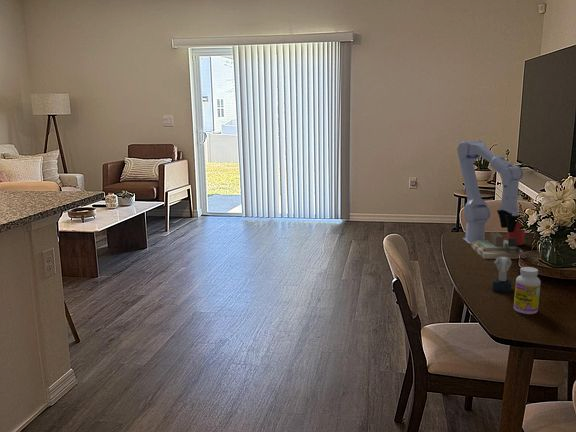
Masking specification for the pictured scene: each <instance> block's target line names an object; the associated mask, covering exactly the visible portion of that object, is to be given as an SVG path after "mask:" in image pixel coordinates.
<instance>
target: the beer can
mask: <svg viewBox="0 0 576 432" xmlns="http://www.w3.org/2000/svg"><path fill="white" fill-rule="evenodd" d="M521 226H522V224H521V223H519V222H517V224H516V227H515V230H514V232H508V231H507V237H506V238H507V239H506V240H508V241H509V238H516V246H522V245H524V243H525V233H526V229H525V230H518V229H519V228H520V227H521Z"/></svg>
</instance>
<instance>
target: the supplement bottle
mask: <svg viewBox="0 0 576 432" xmlns="http://www.w3.org/2000/svg"><path fill="white" fill-rule="evenodd" d="M519 273H520V275H518V276H517V277H516V278H515V286H514V287H515V288H514V297H513V309H514V311H516V312H517V313H520V314H524V315H534V314H537V313H538V310H539V305H540V304H539V303H540V302H539V301H540V292H541V283H542V282H541V280H540V278H539V277H538V275H539V269H538V268H536V267H532V266H523V267H520V272H519Z"/></svg>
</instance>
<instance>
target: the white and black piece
mask: <svg viewBox="0 0 576 432" xmlns="http://www.w3.org/2000/svg"><path fill="white" fill-rule="evenodd" d="M493 264H494V265H495V266H496V268H497V270H498V276H497V277H493V279H492V280H493V281H492V290H491V291H492V292H499V293H509V294H511V293H512V279H510V278H508V271H509V270H510V268H511V266H512V260H511V259H509V258H507V257H498V258H497V259H495V260H494V261H493Z"/></svg>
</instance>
